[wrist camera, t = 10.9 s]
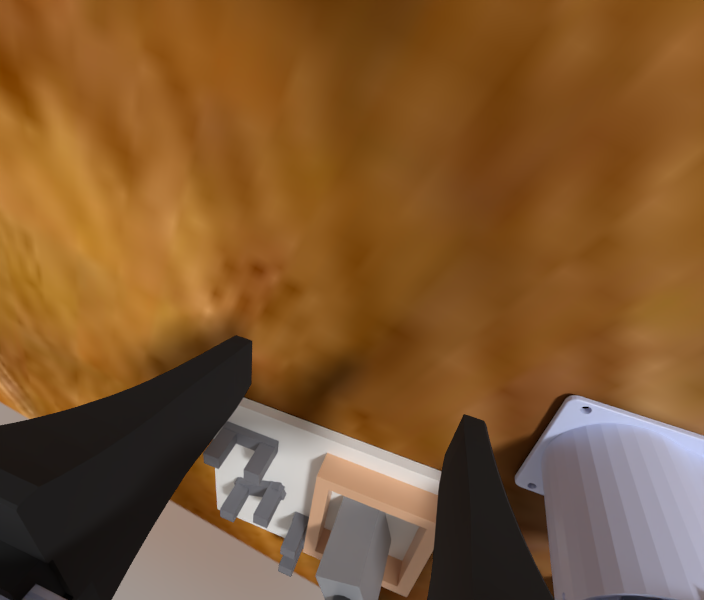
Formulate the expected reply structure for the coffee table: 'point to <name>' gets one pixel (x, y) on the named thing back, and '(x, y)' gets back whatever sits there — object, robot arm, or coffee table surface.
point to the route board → (296, 475)
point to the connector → (355, 553)
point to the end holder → (383, 497)
